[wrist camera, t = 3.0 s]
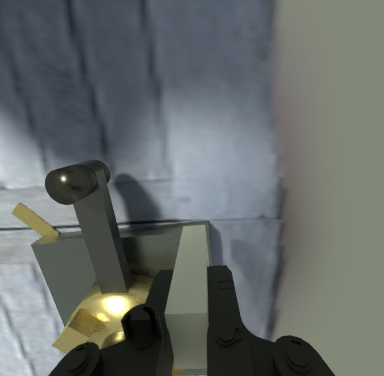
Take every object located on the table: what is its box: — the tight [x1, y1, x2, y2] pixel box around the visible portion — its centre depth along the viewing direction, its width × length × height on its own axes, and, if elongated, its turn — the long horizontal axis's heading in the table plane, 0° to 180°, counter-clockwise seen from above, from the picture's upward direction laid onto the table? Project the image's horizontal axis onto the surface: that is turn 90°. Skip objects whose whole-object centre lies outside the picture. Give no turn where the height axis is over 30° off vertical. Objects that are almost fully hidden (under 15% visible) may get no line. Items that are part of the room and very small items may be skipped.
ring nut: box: [45, 160, 183, 376], centre depth 17 cm, size 24×12×5 cm, turn 7°
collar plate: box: [12, 203, 213, 376], centre depth 22 cm, size 24×21×2 cm
